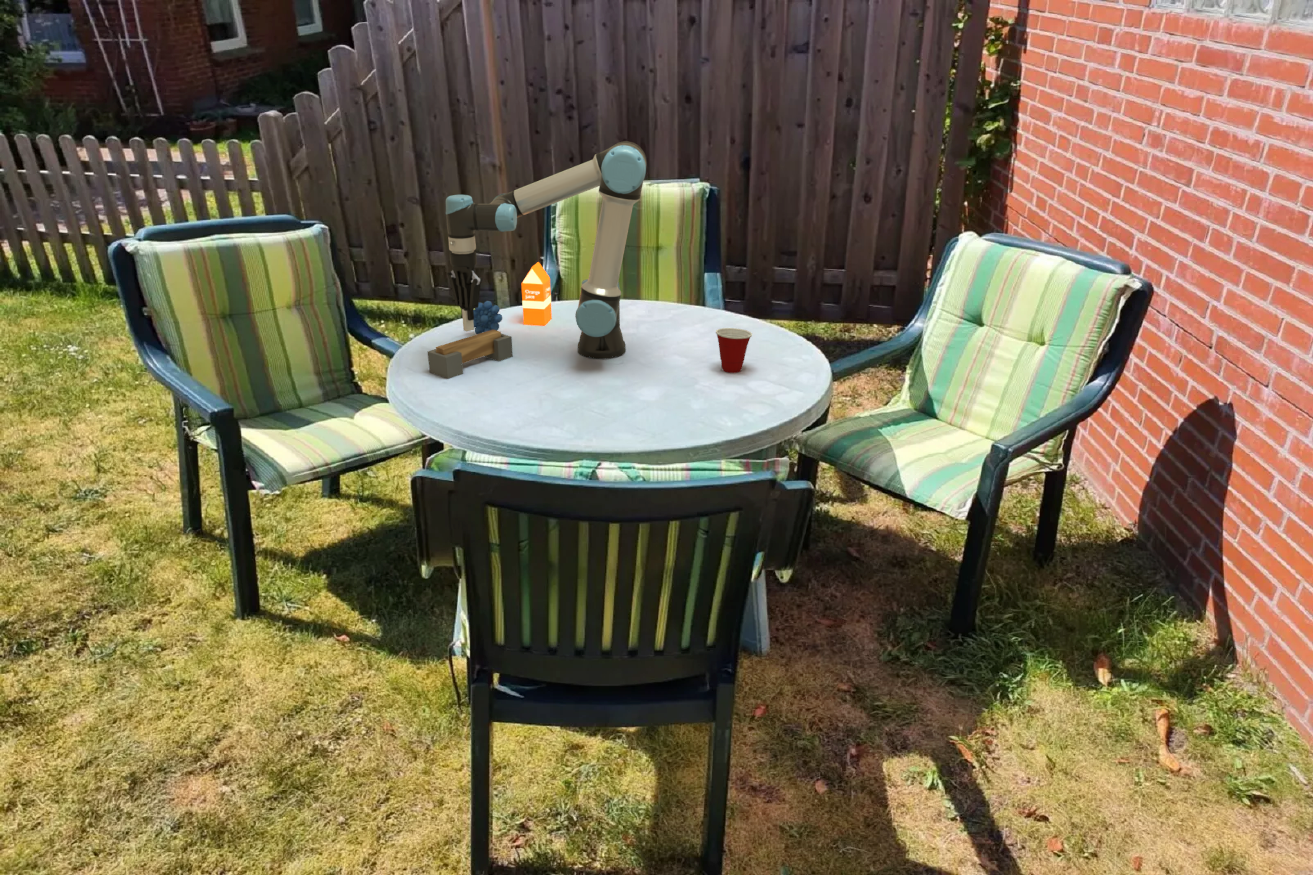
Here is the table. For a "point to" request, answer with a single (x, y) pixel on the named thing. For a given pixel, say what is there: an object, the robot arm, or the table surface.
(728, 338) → the plastic cup
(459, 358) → the end caps
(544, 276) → the orange juice
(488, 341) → the slat
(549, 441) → the table surface
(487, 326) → the grapes
